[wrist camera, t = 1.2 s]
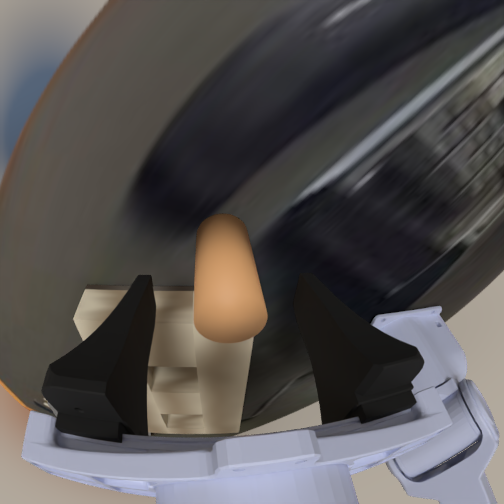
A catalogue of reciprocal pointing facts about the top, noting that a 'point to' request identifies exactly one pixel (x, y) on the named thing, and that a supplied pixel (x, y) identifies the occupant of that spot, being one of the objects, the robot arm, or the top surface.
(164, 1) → the top surface
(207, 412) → the socket board
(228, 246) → the dowel
